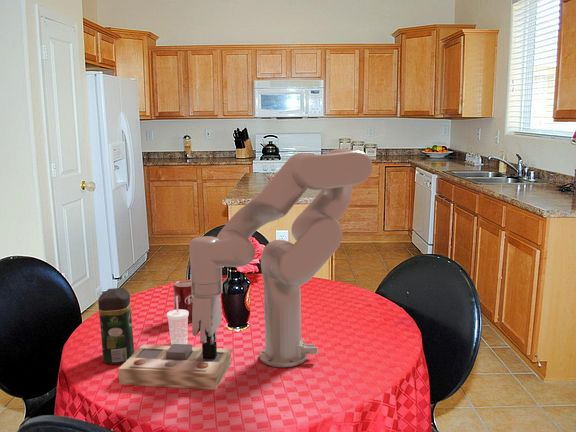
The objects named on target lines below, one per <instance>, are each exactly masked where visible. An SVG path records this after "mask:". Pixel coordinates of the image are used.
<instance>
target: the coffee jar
mask: <svg viewBox="0 0 576 432" xmlns="http://www.w3.org/2000/svg"><path fill="white" fill-rule="evenodd" d="M97 304H98V313H99V314H98V315H99V316H98V317H99V327H100V335H101V348H102V361H103V362H104V363H105V364H109V365H110V364H111V365H122V364H124V363H125V362H126V361H127V360H128V359H129V358H130V357H131V356H132V355H133V354H134V353H135V341H134V334H133V333H134V332H133V320H132V319H133V318H132V307H131V294H130V292H129V291H128V290H127V289H125V288H124V287H118V288H117V287H116V288H108V289H107V290H105V291H104V292H102V293H101V294H100V295H99V298H98V300H97Z"/></svg>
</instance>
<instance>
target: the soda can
mask: <svg viewBox="0 0 576 432" xmlns="http://www.w3.org/2000/svg"><path fill="white" fill-rule="evenodd" d="M172 286H173V287H172V288H173V304H174V306H173V307H174V310H177V307H176V296H178V309H183V310H187V311H188V312H189V315H188V324H190V323H192V307H193V297H194V296H193V295H192V290H191V279H190V280H188V279H187V280H180V281H176V282H175V283H174V284H173V285H172Z"/></svg>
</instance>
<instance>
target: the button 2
mask: <svg viewBox="0 0 576 432" xmlns="http://www.w3.org/2000/svg"><path fill="white" fill-rule="evenodd" d="M221 356H222V354H217V356H216V358H215V359H204V358H203V354H202V356H201V357H200V358H199V360H198V361H209V362H218V361H219V359H220V358H221Z"/></svg>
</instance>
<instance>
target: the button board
mask: <svg viewBox="0 0 576 432" xmlns="http://www.w3.org/2000/svg"><path fill="white" fill-rule="evenodd" d="M171 346H172V345H161V344H160V345H157V344H156V345H155V344H142V345H141V346H140V347H138V348H137V349H136V351H134V354H133V355H132V356H131V357H130V358H129V359H128V360H127V361H126V362H123V363H122V364H121V366H119V368H118V379H119V380H118V381H119V385H129V386H145V387H146V386H147V387H160V388H161V387H162V388H163V387H164V388H179V389H196V390H197V389H198V390H213V391H216V390H217V389H218V387H219V386H220V384H221V383H222V381H223V379H224V377H225V375H226V373H227V372H226V371H228V370H229V368H230V366H231V364H232V352H231V351H232V350H231V348H221V347H219V348H217V354H222V356H221V358H220V359H219V361H218V362H209V361H198V360H199V358H200V357H201V356H202V354H203V352H202V346H201V347H200V346H199V347H197V346H192V354H191V355H190V356H189V358H188V359H187V360H170V359H166V351H167V350H168V349H169V348H170V347H171ZM144 350H156V351H162V352H161V353H160V354H159V355H158V357H157V358H156V359H151V358H137V357H138V356H139V355H140V354H141V353H142V352H143V351H144Z"/></svg>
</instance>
